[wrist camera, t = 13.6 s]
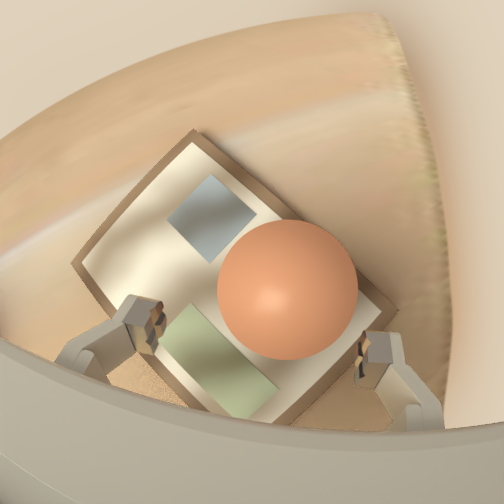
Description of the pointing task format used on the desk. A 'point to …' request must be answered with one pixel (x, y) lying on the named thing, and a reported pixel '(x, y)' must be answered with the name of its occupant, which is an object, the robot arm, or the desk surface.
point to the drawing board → (209, 285)
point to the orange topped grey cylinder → (287, 289)
